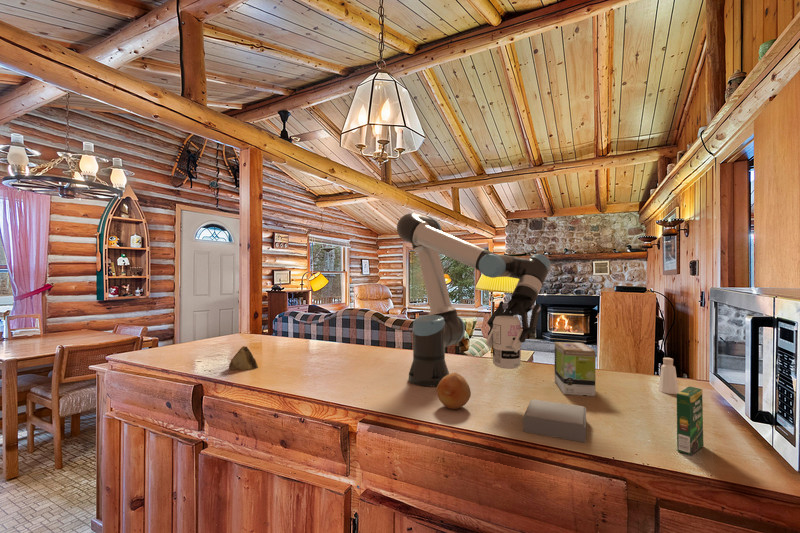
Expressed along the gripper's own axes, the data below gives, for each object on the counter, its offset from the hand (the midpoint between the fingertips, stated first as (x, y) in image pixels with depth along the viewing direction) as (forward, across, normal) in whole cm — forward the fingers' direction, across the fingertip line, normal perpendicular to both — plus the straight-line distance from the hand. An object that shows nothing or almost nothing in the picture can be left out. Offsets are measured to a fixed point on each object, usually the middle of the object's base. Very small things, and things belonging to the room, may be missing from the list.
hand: (501, 347), depth 112 cm
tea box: (-10, -10, -34) cm, 37 cm away
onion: (+21, +8, -4) cm, 23 cm away
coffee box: (+9, -45, -15) cm, 48 cm away
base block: (+15, -18, -9) cm, 25 cm away
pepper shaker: (-23, -34, -46) cm, 62 cm away
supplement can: (+2, 0, -7) cm, 7 cm away
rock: (+40, +99, +13) cm, 108 cm away
